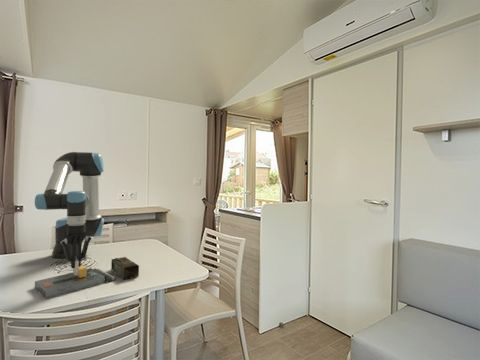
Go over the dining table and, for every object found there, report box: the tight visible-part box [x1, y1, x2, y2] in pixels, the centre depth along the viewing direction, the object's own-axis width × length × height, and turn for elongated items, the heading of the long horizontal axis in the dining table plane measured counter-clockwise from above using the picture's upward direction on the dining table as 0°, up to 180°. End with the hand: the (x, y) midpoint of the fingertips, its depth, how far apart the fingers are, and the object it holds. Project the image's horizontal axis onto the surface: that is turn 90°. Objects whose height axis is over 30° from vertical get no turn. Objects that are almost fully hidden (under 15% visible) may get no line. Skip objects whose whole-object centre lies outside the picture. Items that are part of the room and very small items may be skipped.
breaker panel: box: [34, 268, 106, 300], centre depth 130 cm, size 16×24×3 cm, turn 140°
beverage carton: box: [110, 256, 140, 280], centre depth 147 cm, size 8×19×7 cm, turn 42°
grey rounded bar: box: [92, 268, 116, 282], centre depth 141 cm, size 17×4×2 cm, turn 50°
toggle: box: [76, 264, 88, 278], centre depth 134 cm, size 5×3×4 cm, turn 50°
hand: (75, 274), depth 132 cm, fingers closed
